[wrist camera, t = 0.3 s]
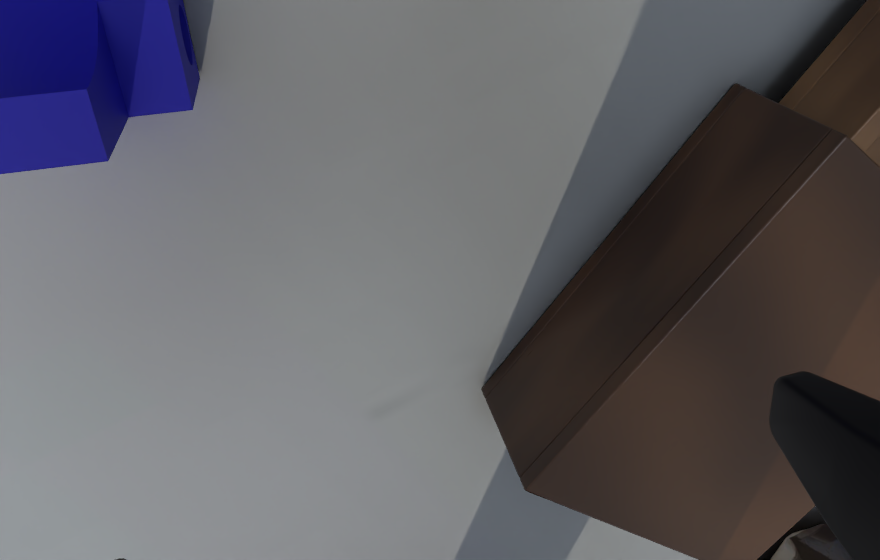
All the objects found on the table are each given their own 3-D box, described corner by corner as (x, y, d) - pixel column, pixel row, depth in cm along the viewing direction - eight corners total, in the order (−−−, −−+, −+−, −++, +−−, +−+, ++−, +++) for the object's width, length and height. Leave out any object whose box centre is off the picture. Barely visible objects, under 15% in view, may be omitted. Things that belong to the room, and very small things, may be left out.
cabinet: (734, 82, 24) (847, 134, 20) (909, 239, 29) (1029, 310, 25) (480, 388, 28) (524, 491, 24) (673, 479, 34) (739, 576, 29)
